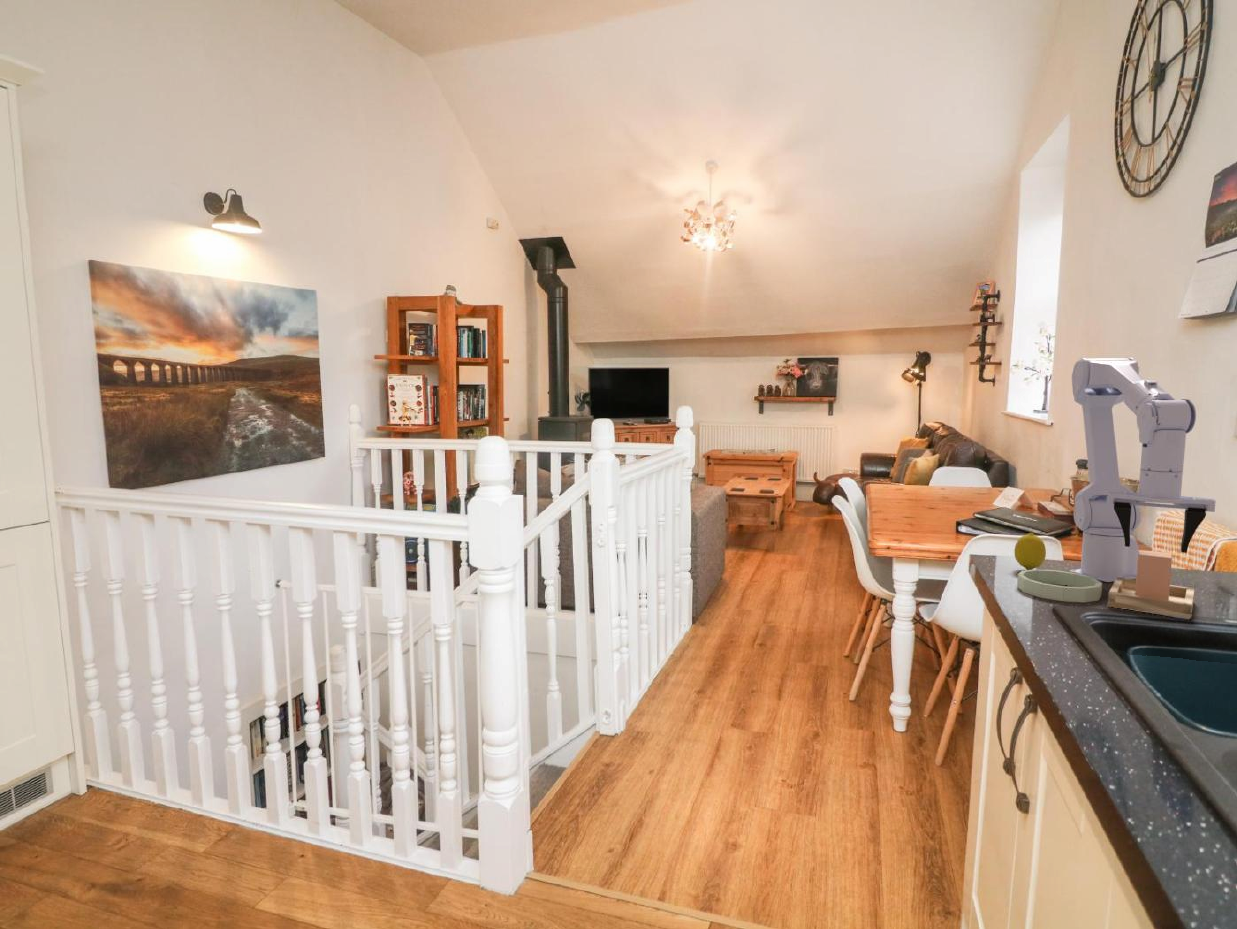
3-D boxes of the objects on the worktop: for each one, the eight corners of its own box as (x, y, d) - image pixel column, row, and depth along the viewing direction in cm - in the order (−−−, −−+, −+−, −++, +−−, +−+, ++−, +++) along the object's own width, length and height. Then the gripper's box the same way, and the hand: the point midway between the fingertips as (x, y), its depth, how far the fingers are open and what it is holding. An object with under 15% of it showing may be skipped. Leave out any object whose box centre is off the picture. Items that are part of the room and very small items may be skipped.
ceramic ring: (1052, 579, 135) (1053, 567, 135) (1117, 597, 123) (1118, 584, 123) (1002, 585, 131) (1003, 572, 131) (1064, 605, 119) (1065, 591, 119)
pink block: (1135, 593, 122) (1138, 549, 121) (1166, 598, 119) (1170, 553, 119) (1135, 599, 118) (1139, 554, 118) (1168, 604, 116) (1172, 558, 115)
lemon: (1016, 573, 140) (1018, 534, 139) (1011, 566, 145) (1013, 529, 144) (1047, 575, 138) (1050, 536, 137) (1041, 568, 143) (1043, 531, 142)
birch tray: (1116, 590, 127) (1117, 577, 127) (1193, 602, 120) (1194, 588, 120) (1107, 606, 118) (1108, 592, 118) (1190, 620, 111) (1191, 605, 110)
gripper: (1108, 469, 118) (1102, 547, 119) (1220, 475, 109) (1212, 559, 111) (1109, 466, 123) (1104, 540, 125) (1215, 471, 115) (1208, 550, 116)
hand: (1154, 548), depth 118 cm, fingers open, 7 cm apart
